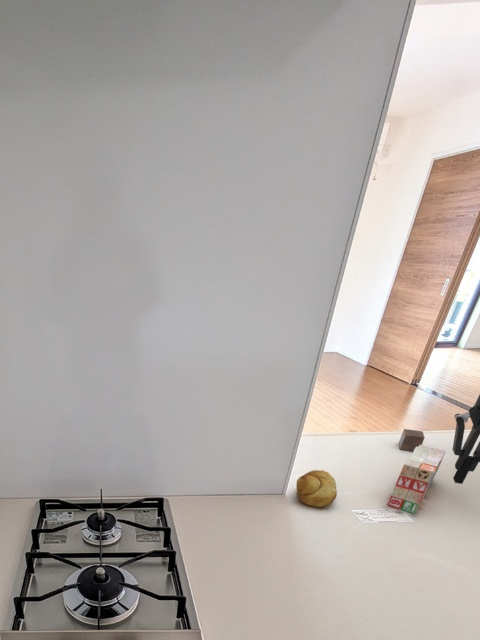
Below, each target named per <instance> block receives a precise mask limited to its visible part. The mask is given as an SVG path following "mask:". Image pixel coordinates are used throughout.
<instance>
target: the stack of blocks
mask: <svg viewBox="0 0 480 640" xmlns="http://www.w3.org/2000/svg"><path fill="white" fill-rule="evenodd" d="M446 452H447V451H446V450H444V449H440V448H436V447H431V446H427V445H424V444H422V445H419V447H416V448H415V449H414V451H413V452H412V453H411V454H410V456H409V457H408V458H407V459H406V461H405V462H404V464H403V466H402V468H401V471H400V473H399V476H398V478H397V480H396V483H395V486H394V487H393V491H392V493H391V495H390V496H389V499H388V502H387V504H386V506H388V507H389V508H390V507H391V508H394V509H397V510H400V511H404V512H407V513H410V514H413V515H414V514H415V513H416V512H417V510H418V508H419V507H420V505H421V504H422V502H423V500H424V499H425V496H426V494H427V491H428V490H429V489H430V487H431V485H432V483H433V481H434V479H435V476H436V475H437V472H438V470H439V468H440V466H441V464H442V461H443V459H444V457H445V454H446Z"/></svg>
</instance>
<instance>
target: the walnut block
mask: <svg viewBox="0 0 480 640" xmlns="http://www.w3.org/2000/svg"><path fill="white" fill-rule="evenodd" d="M425 438H426V437H425V435H424V431H422V430H414V429H409V428H406V429H405V428H404V429H403V431H402V433H401V436H400V438H399V441H398V449H399V450H400V451H406V452H412V453H413V451H414V449H415V448H416V447H419V445H423V443H424V440H425ZM399 446H400V447H399ZM409 450H410V451H409Z"/></svg>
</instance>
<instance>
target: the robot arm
mask: <svg viewBox="0 0 480 640" xmlns="http://www.w3.org/2000/svg"><path fill="white" fill-rule="evenodd" d="M453 418H454V420H455V422H456V424H455V431H454V438H453V445H452V452H453V454H454V456H458V458H457V460H456V462H455V464H454V468H455V471H456V472H455V473H454V475H453V478H452V479H453V481H454V483H455V484H460V485H463V483H464V481H465V479H466V478H467V476H468V474H469V472H472V473H473V472H474V471H475V470H476V469H477V466H478V464H479V463H480V440H479V441H478V439H479V437H480V394H479V395H478V397H477V399H476V400H475V403H474V405H473V406H472V407H471V408H469V410H468V411H467V412H463V413H455V415H454V417H453ZM469 418H470V420H471V423H472V426H471V430H470V432H469V434H468V436H467V438H466V439H465V442H464V444H463V441H464V436H465V435H464V434H465V429H466V427H465V426H466V424H467V422H468V421H469ZM477 441H478V443H477ZM476 443H477V445H476V447H475V444H476ZM474 447H475V448H474ZM473 449H474V452H473V453H472V450H473ZM471 453H472V455H470V454H471Z"/></svg>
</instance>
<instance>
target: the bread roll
mask: <svg viewBox="0 0 480 640" xmlns="http://www.w3.org/2000/svg"><path fill="white" fill-rule="evenodd" d="M295 485H296V495H297V499H298V500H299V501H301V502H302V503H303V504H305V505H308V506H311V507H316V508H317V507H318V508H322V507H327V506H328V505H331V504H333V503H334V501H335V500H336V498H337V496H338V490H337V482H336V479H335V477H333V476H332V474H330V473H329V472H328V471H325V470H318V469H313V470H310V471H308V472H306V473H304V474H303V475H301V476H300V477H298V478H297V479H296V484H295Z"/></svg>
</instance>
